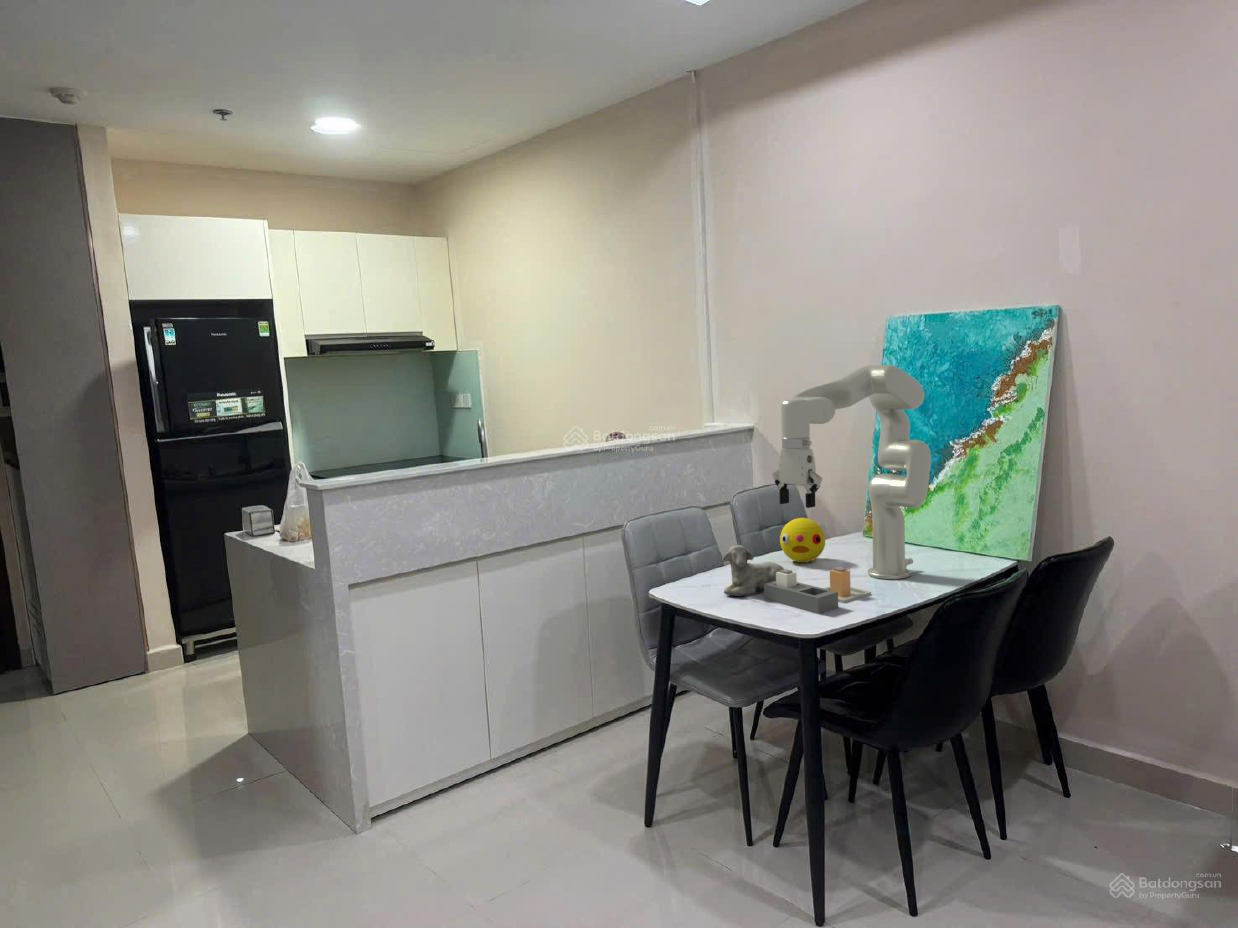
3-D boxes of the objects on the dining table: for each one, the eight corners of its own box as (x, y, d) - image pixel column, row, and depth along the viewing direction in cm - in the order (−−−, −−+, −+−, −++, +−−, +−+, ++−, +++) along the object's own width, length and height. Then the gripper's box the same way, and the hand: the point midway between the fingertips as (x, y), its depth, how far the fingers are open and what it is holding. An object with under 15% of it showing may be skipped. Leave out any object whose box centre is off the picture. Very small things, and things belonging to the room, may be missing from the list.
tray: (837, 588, 243) (837, 584, 243) (871, 596, 233) (871, 591, 233) (810, 596, 236) (810, 592, 236) (843, 605, 226) (843, 600, 226)
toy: (777, 567, 271) (775, 523, 269) (783, 556, 286) (782, 513, 285) (823, 569, 266) (822, 523, 264) (827, 557, 282) (826, 514, 280)
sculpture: (719, 595, 243) (717, 545, 241) (771, 582, 254) (770, 534, 252) (743, 603, 234) (741, 551, 232) (797, 589, 245) (795, 540, 243)
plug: (839, 591, 237) (838, 566, 237) (850, 594, 234) (850, 568, 233) (830, 594, 235) (829, 568, 234) (841, 597, 232) (840, 570, 231)
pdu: (783, 595, 239) (782, 564, 238) (838, 609, 222) (837, 577, 221) (764, 601, 234) (763, 569, 233) (818, 616, 218) (817, 582, 217)
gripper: (829, 444, 221) (830, 507, 223) (782, 441, 235) (783, 500, 237) (810, 446, 216) (811, 510, 218) (763, 443, 230) (765, 503, 232)
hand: (797, 505), depth 227 cm, fingers open, 9 cm apart
